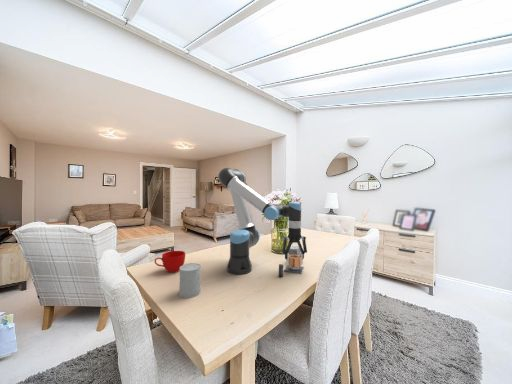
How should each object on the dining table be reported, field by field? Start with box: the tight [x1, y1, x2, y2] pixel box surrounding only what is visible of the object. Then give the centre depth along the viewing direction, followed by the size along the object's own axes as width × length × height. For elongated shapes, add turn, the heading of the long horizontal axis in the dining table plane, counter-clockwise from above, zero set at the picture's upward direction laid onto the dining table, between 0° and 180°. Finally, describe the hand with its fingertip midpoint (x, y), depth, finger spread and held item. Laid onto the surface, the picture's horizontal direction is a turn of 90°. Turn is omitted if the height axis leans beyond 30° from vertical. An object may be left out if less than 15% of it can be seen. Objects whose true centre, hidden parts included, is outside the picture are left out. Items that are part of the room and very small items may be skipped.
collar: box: [289, 255, 302, 267], centre depth 130 cm, size 8×8×5 cm
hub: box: [283, 264, 305, 275], centre depth 130 cm, size 10×10×7 cm
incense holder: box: [288, 245, 301, 256], centre depth 144 cm, size 10×8×10 cm
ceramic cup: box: [154, 250, 186, 273], centre depth 126 cm, size 13×17×10 cm
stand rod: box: [278, 263, 284, 278], centre depth 120 cm, size 2×2×6 cm
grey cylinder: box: [179, 262, 202, 299], centre depth 100 cm, size 10×10×12 cm
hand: (294, 264), depth 130 cm, fingers closed on collar, 8 cm apart
